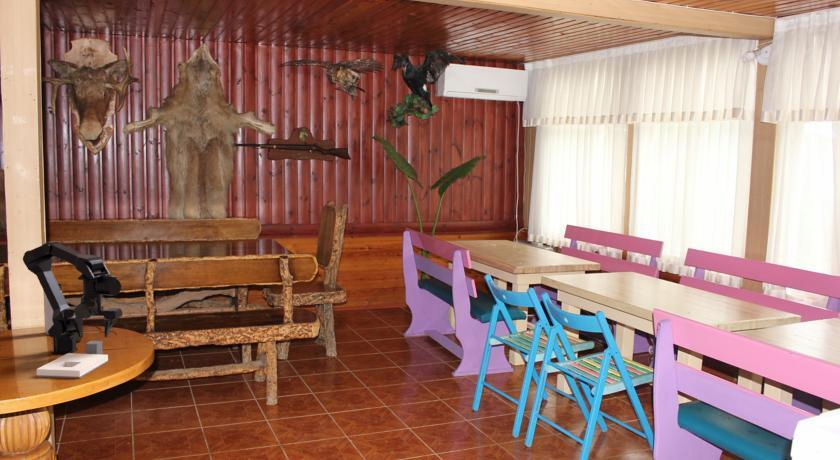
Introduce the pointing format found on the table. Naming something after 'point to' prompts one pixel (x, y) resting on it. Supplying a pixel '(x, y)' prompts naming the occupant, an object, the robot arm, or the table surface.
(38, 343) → the table surface
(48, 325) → the travel mug
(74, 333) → the sunglasses
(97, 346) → the block
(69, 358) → the socket plate
